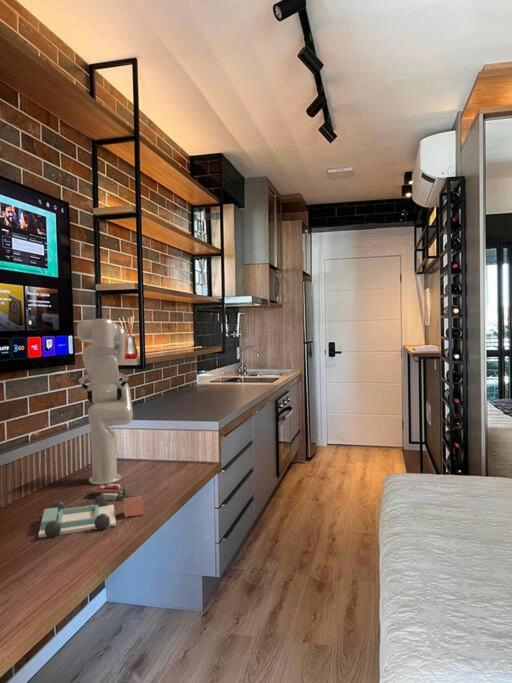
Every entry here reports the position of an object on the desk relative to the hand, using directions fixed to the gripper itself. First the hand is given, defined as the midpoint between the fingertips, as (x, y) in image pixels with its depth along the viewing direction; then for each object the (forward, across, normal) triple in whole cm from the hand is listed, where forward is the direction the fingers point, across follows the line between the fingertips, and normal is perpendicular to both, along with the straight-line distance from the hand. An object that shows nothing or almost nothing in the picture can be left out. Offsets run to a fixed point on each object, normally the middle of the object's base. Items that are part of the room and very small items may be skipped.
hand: (104, 400), depth 179 cm
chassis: (+36, +11, +16) cm, 41 cm away
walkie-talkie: (+36, -3, -3) cm, 36 cm away
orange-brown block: (+36, -6, +18) cm, 41 cm away
